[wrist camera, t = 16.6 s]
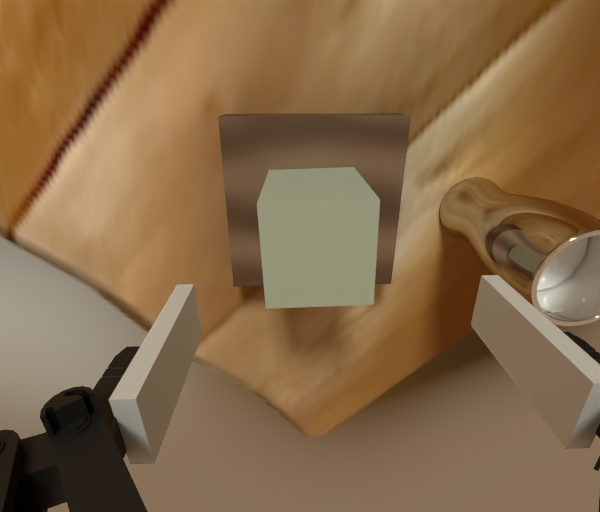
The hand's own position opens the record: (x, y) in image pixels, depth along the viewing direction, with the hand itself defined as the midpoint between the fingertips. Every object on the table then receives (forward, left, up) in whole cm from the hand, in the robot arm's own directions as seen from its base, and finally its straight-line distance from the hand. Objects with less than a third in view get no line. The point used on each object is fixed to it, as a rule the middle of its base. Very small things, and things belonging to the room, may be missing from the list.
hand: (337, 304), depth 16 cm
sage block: (0, 0, -16) cm, 16 cm away
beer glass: (+2, +15, -19) cm, 25 cm away
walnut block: (0, 0, -20) cm, 20 cm away
